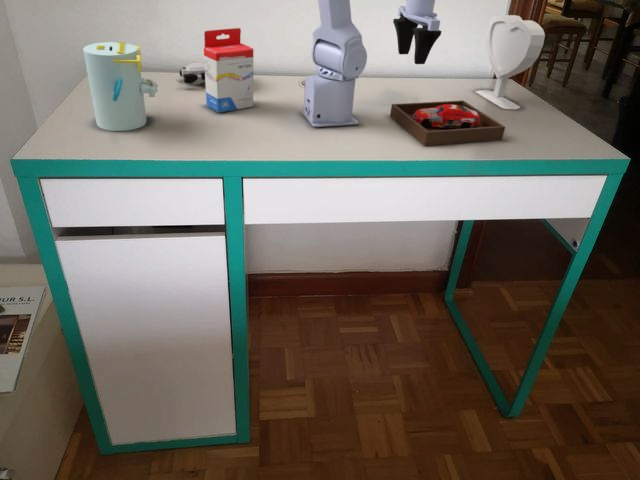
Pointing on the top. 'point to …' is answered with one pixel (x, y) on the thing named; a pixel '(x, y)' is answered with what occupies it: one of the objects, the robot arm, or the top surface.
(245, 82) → the ink box
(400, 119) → the tray
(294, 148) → the top surface
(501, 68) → the heart sculpture
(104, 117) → the character sculpture
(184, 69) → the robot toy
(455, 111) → the race car
